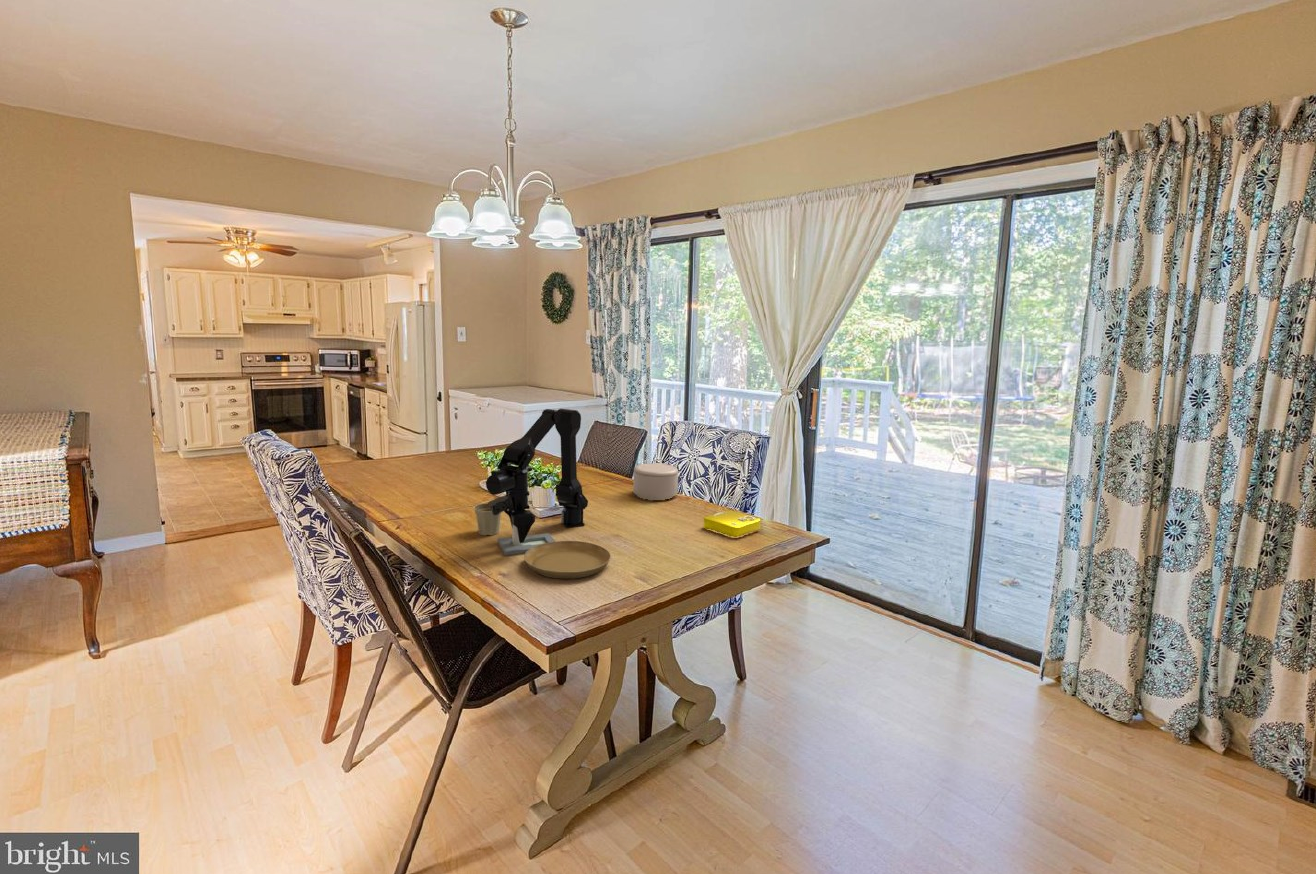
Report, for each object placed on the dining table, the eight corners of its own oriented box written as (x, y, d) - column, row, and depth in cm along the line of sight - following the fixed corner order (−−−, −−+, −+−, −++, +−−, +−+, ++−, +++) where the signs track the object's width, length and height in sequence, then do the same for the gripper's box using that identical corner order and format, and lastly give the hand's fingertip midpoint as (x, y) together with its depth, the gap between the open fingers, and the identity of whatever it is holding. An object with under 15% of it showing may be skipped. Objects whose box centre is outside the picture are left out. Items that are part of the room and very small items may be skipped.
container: (637, 502, 240) (637, 472, 238) (629, 490, 257) (630, 462, 255) (682, 501, 244) (683, 472, 242) (671, 489, 261) (673, 462, 259)
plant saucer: (620, 556, 184) (621, 545, 183) (594, 588, 161) (594, 576, 160) (544, 547, 189) (544, 536, 188) (509, 577, 166) (508, 565, 165)
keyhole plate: (548, 536, 197) (548, 533, 197) (559, 549, 187) (559, 545, 186) (497, 542, 191) (497, 538, 191) (505, 555, 180) (505, 551, 180)
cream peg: (522, 544, 190) (522, 517, 188) (524, 547, 187) (524, 520, 185) (511, 545, 188) (511, 518, 187) (513, 548, 185) (513, 521, 184)
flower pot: (495, 538, 194) (495, 512, 192) (468, 535, 196) (467, 509, 194) (508, 529, 203) (508, 504, 201) (482, 526, 205) (482, 501, 203)
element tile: (727, 520, 222) (728, 507, 221) (762, 531, 212) (763, 517, 211) (700, 529, 212) (701, 515, 211) (735, 540, 201) (736, 526, 201)
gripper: (485, 482, 189) (485, 531, 192) (496, 498, 173) (496, 551, 175) (521, 479, 194) (521, 527, 197) (535, 494, 177) (535, 546, 180)
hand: (518, 537), depth 187 cm, fingers open, 9 cm apart
